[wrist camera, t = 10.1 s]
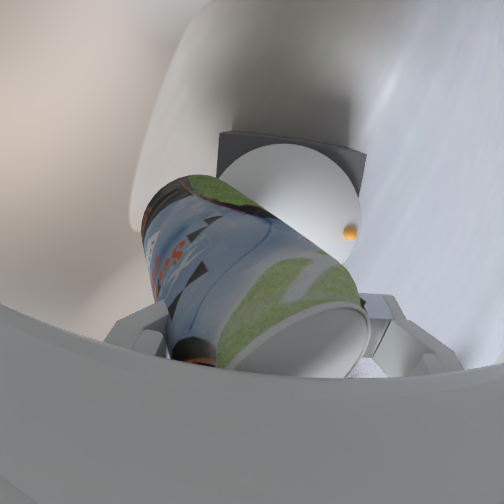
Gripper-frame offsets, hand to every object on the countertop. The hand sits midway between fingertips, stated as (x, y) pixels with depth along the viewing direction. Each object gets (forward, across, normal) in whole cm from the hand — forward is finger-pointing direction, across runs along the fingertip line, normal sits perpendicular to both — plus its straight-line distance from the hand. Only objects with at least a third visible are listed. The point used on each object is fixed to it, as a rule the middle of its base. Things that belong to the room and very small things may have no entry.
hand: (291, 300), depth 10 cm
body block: (+13, 0, +2) cm, 13 cm away
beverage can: (+7, +5, 0) cm, 9 cm away
